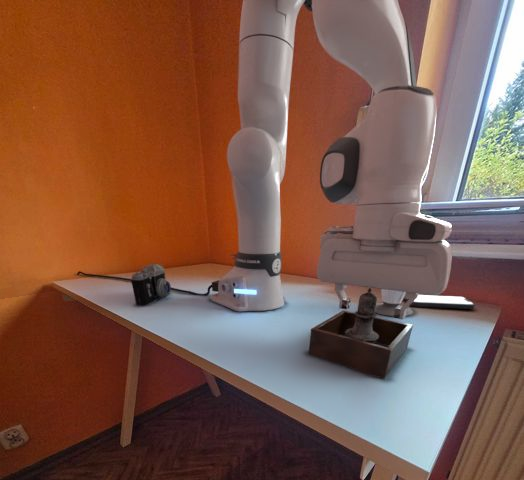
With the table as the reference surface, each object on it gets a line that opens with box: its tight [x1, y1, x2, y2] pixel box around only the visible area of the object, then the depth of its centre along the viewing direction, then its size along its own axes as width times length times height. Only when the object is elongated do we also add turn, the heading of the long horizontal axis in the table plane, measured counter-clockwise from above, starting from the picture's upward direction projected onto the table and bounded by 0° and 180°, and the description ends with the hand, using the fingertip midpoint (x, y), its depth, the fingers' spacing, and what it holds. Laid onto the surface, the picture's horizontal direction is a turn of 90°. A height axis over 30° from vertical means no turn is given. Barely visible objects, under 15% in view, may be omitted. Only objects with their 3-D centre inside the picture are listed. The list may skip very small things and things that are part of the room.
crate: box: [308, 309, 414, 379], centre depth 50 cm, size 14×14×5 cm
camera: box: [130, 263, 172, 307], centre depth 80 cm, size 15×7×10 cm, turn 171°
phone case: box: [404, 294, 476, 310], centre depth 78 cm, size 9×2×16 cm
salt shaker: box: [344, 288, 379, 344], centre depth 48 cm, size 6×6×12 cm
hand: (370, 312), depth 48 cm, fingers open, 8 cm apart
